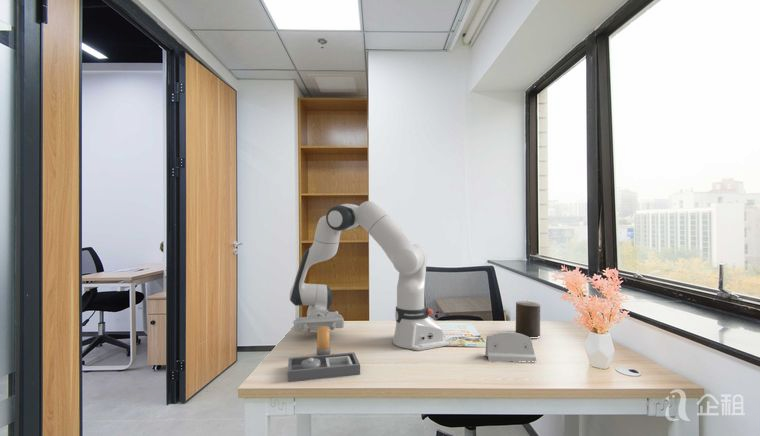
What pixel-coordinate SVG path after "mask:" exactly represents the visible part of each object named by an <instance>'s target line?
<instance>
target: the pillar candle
mask: <svg viewBox="0 0 760 436" xmlns="http://www.w3.org/2000/svg"><path fill="white" fill-rule="evenodd" d="M515 302H516V303H515V333H519V334H523V335H525V336H528V337H538V336H540V337H541V304H540V303H538V302H535V301H529V300H528V299H526V300H524V301H523V300H521V301H519V300H518V301H515Z"/></svg>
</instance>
